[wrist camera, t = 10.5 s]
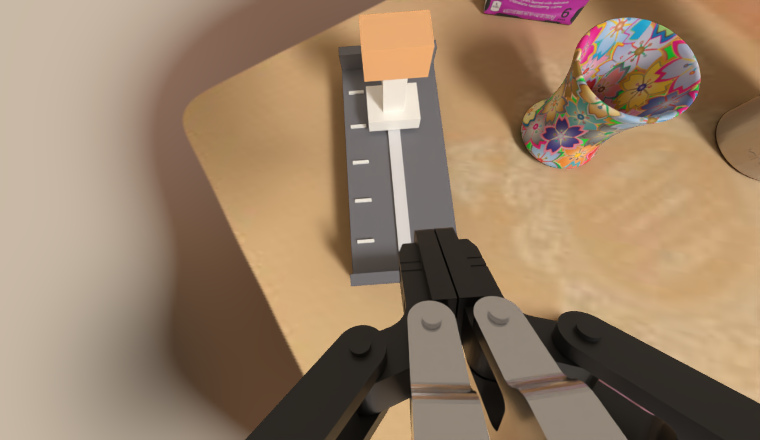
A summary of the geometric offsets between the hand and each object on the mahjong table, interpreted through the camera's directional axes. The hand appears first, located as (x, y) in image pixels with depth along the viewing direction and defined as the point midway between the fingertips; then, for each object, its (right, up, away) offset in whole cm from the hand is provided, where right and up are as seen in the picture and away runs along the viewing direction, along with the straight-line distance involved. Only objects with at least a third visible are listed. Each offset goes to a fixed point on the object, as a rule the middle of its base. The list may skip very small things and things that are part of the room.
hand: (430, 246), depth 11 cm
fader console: (0, +6, +20) cm, 21 cm away
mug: (+18, +12, +21) cm, 30 cm away
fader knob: (-1, +12, +17) cm, 21 cm away
